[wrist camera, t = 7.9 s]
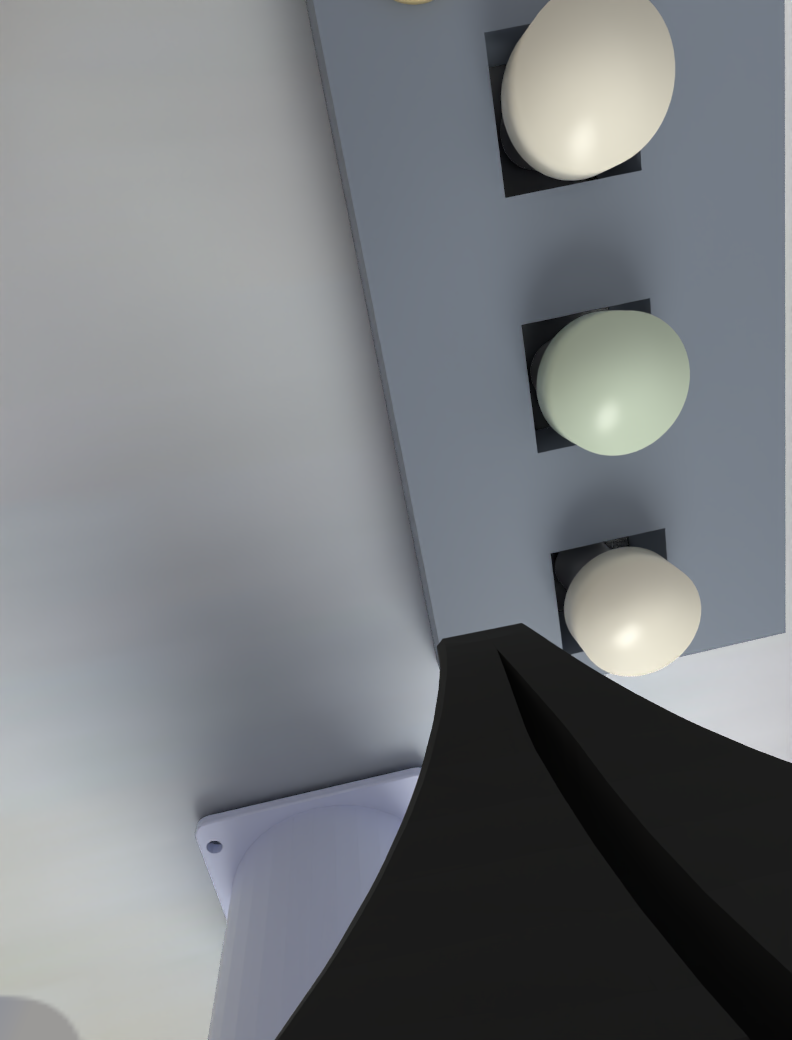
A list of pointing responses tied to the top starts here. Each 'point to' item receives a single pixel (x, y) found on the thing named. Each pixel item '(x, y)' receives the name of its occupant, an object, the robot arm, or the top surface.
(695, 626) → the knob
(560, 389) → the knob middle
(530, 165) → the knob
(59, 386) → the top surface
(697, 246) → the console
